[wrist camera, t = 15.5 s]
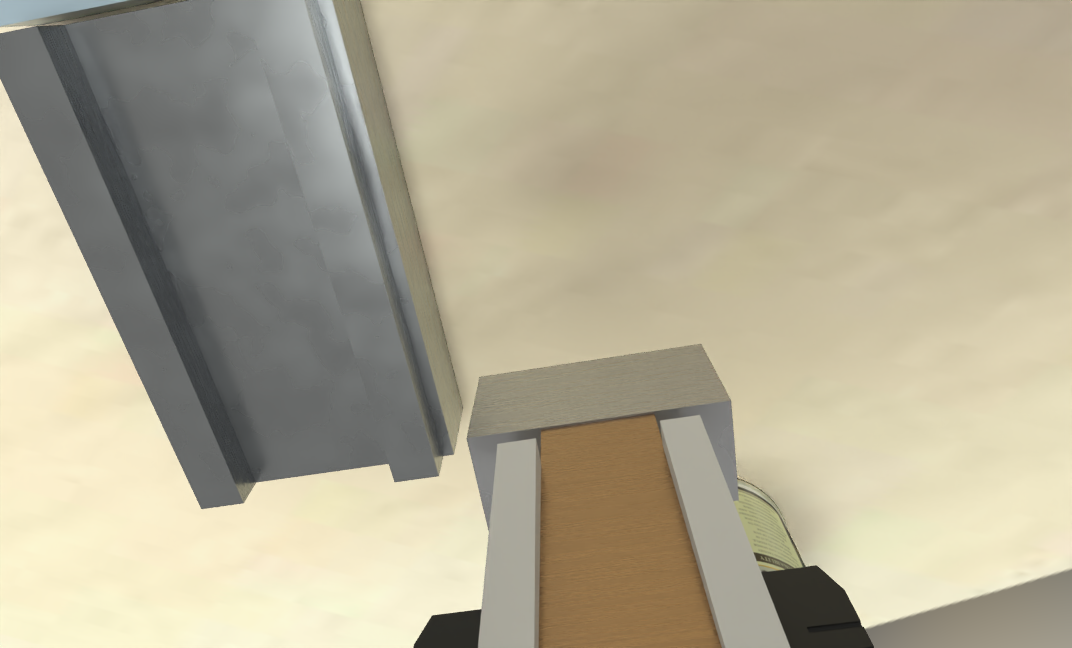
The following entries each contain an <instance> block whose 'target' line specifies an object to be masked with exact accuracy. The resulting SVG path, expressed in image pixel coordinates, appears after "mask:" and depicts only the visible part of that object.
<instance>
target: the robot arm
mask: <svg viewBox="0 0 1072 648" xmlns="http://www.w3.org/2000/svg"><path fill="white" fill-rule="evenodd" d="M660 426H661V434H662V443H663V448H664V452H665V455H666V459H667V462H668V465H669V469H670V472H671V476H672V479H673V483H674V486H675V489H676V493H677V496H678V500H679V503H680V507H681V510H682V513H683V517H684V520H685V524H686V527H687V531H688V534H689V537H690V541H691V544H692V548H693V551H694V554H695V558H696V561H697V565H698V568H699V572H700V575H701V578H702V582H703V585H704V589H705V592H706V596H707V599H708V602H709V606H710V609H711V613H712V616H713V620H714V623H715V626H716V630H717V633H718V637H719V640H720V643H721V647H722V648H874V646H873V644H872V642H871V640H870V638H869V636H868V634H867V632H866V631H865V629H864V627H862V625H861V622H860V619H859V617H858V615H857V613H856V611H855V609H854V607H853V605H852V604H851V602H850V600H849V598H848V596H847V594H846V592H845V590H844V589H843V588H842V587H841V586H839V585H838V584H837V583H836V582H835V581H834V580H833V579H832V578H830V577H829V576H828V575H827V574H826V573H825V572H824V571H823V570H821V569H820V568H819V567H818V566H809V567H801V568H793V569H785V570H777V571H769V572H761V571H760V568H759V566H758V563H757V561H756V558H755V555H754V553H753V550H752V548H751V545H750V543H749V540H748V537H747V535H746V532H745V530H744V527H743V525H742V522H741V519H740V517H739V514H738V512H737V509H736V507H735V504H734V501H733V499H732V496H731V494H730V491H729V489H728V486H727V483H726V481H725V478H724V476H723V473H722V471H721V468H720V465H719V463H718V460H717V458H716V455H715V453H714V450H713V447H712V445H711V442H710V440H709V437H708V435H707V432H706V429H705V427H704V424H703V422H702V419H701V417H700V415H696V416H689V417H682V418H675V419H668V420H661V421H660ZM540 511H541V460H540V455H539V450H538V446H537V441H536V438H535V439H528V440H521V441H514V442H507V443H500V444H497V454H496V464H495V475H494V485H493V495H492V506H491V516H490V527H489V537H488V547H487V558H486V568H485V579H484V589H483V599H482V609H480V610H472V611H464V612H456V613H448V614H440V615H433V616H432V617H431V618H430V620H429V622H428V623H427V625H426V626H425V628H424V630H423V631H422V633H421V634H420V636H419V638H418V639H417V641H416V642H415V644H414V648H539V581H540Z"/></svg>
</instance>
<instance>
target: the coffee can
mask: <svg viewBox="0 0 1072 648" xmlns="http://www.w3.org/2000/svg"><path fill="white" fill-rule="evenodd" d="M737 483H738V495H739V501H734V504H735V507H736V509H737V512H738V514H739V517H740V519H741V522H742V525H743V527H744V530H745V532H746V535H747V537H748V540H749V543H750V545H751V548H752V550H753V553H754V555H755V558H756V561H757V563H758V566H759V568H760V571H761V572H769V571H777V570H785V569H793V568H801V567H805V565H804V563H803V561H802V559H801V557H800V554H799V552H798V550H797V548H796V546H795V544H794V542H793V540H792V538H791V536H790V534H789V532H788V530H787V527H786V524H785V521H784V518H783V516H782V514H781V512H780V511H779V509H778V507H777V506H776V504H775V503H774V502H773V501H772V500H771V499H770V498H769V497H768V496H767V495H766V494H765V493H763V492H762V491H760V490H759V489H758V488H756V487H754V486H752V485H751V484H749V483H746V482H744V481H741V480H739V479H737Z"/></svg>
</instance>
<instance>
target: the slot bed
mask: <svg viewBox="0 0 1072 648" xmlns="http://www.w3.org/2000/svg"><path fill="white" fill-rule="evenodd" d="M0 79H1V81H2V83H3V85H4V88H5V90H6V92H7V94H8V96H9V98H10V100H11V103H12V105H13V107H14V109H15V111H16V113H17V115H18V117H19V120H20V122H21V124H22V126H23V128H24V130H25V132H26V135H27V137H28V139H29V141H30V143H31V145H32V147H33V150H34V152H35V154H36V156H37V158H38V160H39V162H40V165H41V167H42V169H43V171H44V173H45V175H46V177H47V180H48V182H49V184H50V186H51V188H52V190H53V192H54V195H55V197H56V199H57V201H58V203H59V205H60V207H61V210H62V212H63V214H64V216H65V218H66V220H67V222H68V225H69V227H70V229H71V231H72V233H73V235H74V237H75V239H76V242H77V244H78V246H79V248H80V250H81V252H82V254H83V257H84V259H85V261H86V263H87V265H88V267H89V269H90V272H91V274H92V276H93V278H94V280H95V282H96V284H97V287H98V289H99V291H100V293H101V295H102V297H103V299H104V302H105V304H106V306H107V308H108V310H109V312H110V314H111V317H112V319H113V321H114V323H115V325H116V327H117V329H118V332H119V334H120V336H121V338H122V340H123V342H124V344H125V347H126V349H127V351H128V353H129V355H130V357H131V359H132V361H133V364H134V366H135V368H136V370H137V372H138V374H139V376H140V379H141V381H142V383H143V385H144V387H145V389H146V391H147V394H148V396H149V398H150V400H151V402H152V404H153V406H154V409H155V411H156V413H157V415H158V417H159V419H160V421H161V424H162V426H163V428H164V430H165V432H166V434H167V436H168V439H169V441H170V443H171V445H172V447H173V449H174V451H175V454H176V456H177V458H178V460H179V462H180V464H181V466H182V468H183V471H184V473H185V475H186V477H187V479H188V481H189V483H190V486H191V488H192V490H193V492H194V494H195V496H196V498H197V501H198V503H199V505H200V507H201V509H205V508H213V507H220V506H227V505H234V504H241V503H244V502H245V500H246V498H247V497H248V495H249V493H250V492H251V490H252V488H253V487H254V485H255V483H256V482H262V481H269V480H276V479H284V478H291V477H298V476H305V475H312V474H319V473H326V472H333V471H340V470H347V469H354V468H361V467H369V466H376V465H383V464H389V466H390V469H391V472H392V475H393V478H394V482H400V481H407V480H414V479H421V478H429V477H436V476H439V473H440V468H441V464H442V459H443V456H446V455H454V451H455V446H456V441H457V436H458V431H459V426H460V421H461V416H462V411H463V407H462V403H461V399H460V395H459V391H458V387H457V383H456V379H455V375H454V371H453V367H452V363H451V359H450V355H449V352H448V348H447V344H446V340H445V336H444V332H443V328H442V324H441V320H440V316H439V312H438V308H437V304H436V300H435V296H434V292H433V288H432V284H431V280H430V276H429V272H428V269H427V265H426V261H425V257H424V253H423V249H422V245H421V241H420V237H419V233H418V229H417V225H416V221H415V217H414V213H413V209H412V205H411V201H410V197H409V193H408V189H407V186H406V182H405V178H404V174H403V170H402V166H401V162H400V158H399V154H398V150H397V146H396V142H395V138H394V134H393V130H392V126H391V122H390V118H389V114H388V110H387V107H386V103H385V99H384V95H383V91H382V87H381V83H380V79H379V75H378V71H377V67H376V63H375V59H374V55H373V51H372V47H371V43H370V39H369V35H368V31H367V27H366V24H365V20H364V16H363V12H362V8H361V4H360V0H188V1H183V2H178V3H173V4H168V5H163V6H158V7H153V8H148V9H143V10H138V11H133V12H128V13H123V14H118V15H113V16H108V17H103V18H98V19H93V20H88V21H83V22H78V23H73V24H68V25H54V26H35V27H30V28H25V29H20V30H15V31H10V32H5V33H0Z"/></svg>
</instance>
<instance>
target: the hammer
mask: <svg viewBox="0 0 1072 648" xmlns="http://www.w3.org/2000/svg"><path fill="white" fill-rule="evenodd" d="M696 415H700V417H701V419H702V422H703V424H704V427H705V429H706V432H707V435H708V437H709V440H710V442H711V445H712V447H713V450H714V453H715V455H716V458H717V460H718V463H719V465H720V468H721V471H722V473H723V476H724V478H725V481H726V483H727V486H728V489H729V491H730V494H731V496H732V499H733V501H739V495H738V483H737V470H736V457H735V445H734V432H733V419H732V407H731V400H730V398H729V396H728V394H727V392H726V390H725V388H724V386H723V384H722V382H721V381H720V379H719V377H718V375H717V373H716V371H715V369H714V367H713V365H712V363H711V362H710V360H709V358H708V356H707V354H706V352H705V350H704V348H703V346H702V345H701V344H698V345H691V346H684V347H677V348H671V349H664V350H657V351H651V352H644V353H637V354H631V355H624V356H617V357H611V358H604V359H597V360H591V361H584V362H577V363H571V364H564V365H557V366H551V367H544V368H537V369H530V370H524V371H517V372H510V373H504V374H497V375H490V376H484V377H479V382H478V387H477V391H476V396H475V401H474V406H473V410H472V415H471V420H470V425H469V430H468V434H467V442H468V446H469V450H470V454H471V459H472V463H473V467H474V471H475V475H476V480H477V484H478V488H479V492H480V496H481V501H482V505H483V509H484V513H485V517H486V522H487V526H488V530H489V527H490V516H491V506H492V495H493V485H494V475H495V464H496V454H497V444H500V443H507V442H514V441H521V440H528V439H535V438H536V441H537V446H538V450H539V455H540V460H541V511H540V581H539V648H722V647H721V643H720V640H719V637H718V633H717V630H716V626H715V623H714V620H713V616H712V613H711V609H710V606H709V602H708V599H707V596H706V592H705V589H704V585H703V582H702V578H701V575H700V572H699V568H698V565H697V561H696V558H695V554H694V551H693V548H692V544H691V541H690V537H689V534H688V531H687V527H686V524H685V520H684V517H683V513H682V510H681V507H680V503H679V500H678V496H677V493H676V489H675V486H674V483H673V479H672V476H671V472H670V469H669V465H668V462H667V459H666V455H665V452H664V448H663V443H662V434H661V426H660V421H661V420H668V419H675V418H682V417H689V416H696Z"/></svg>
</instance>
